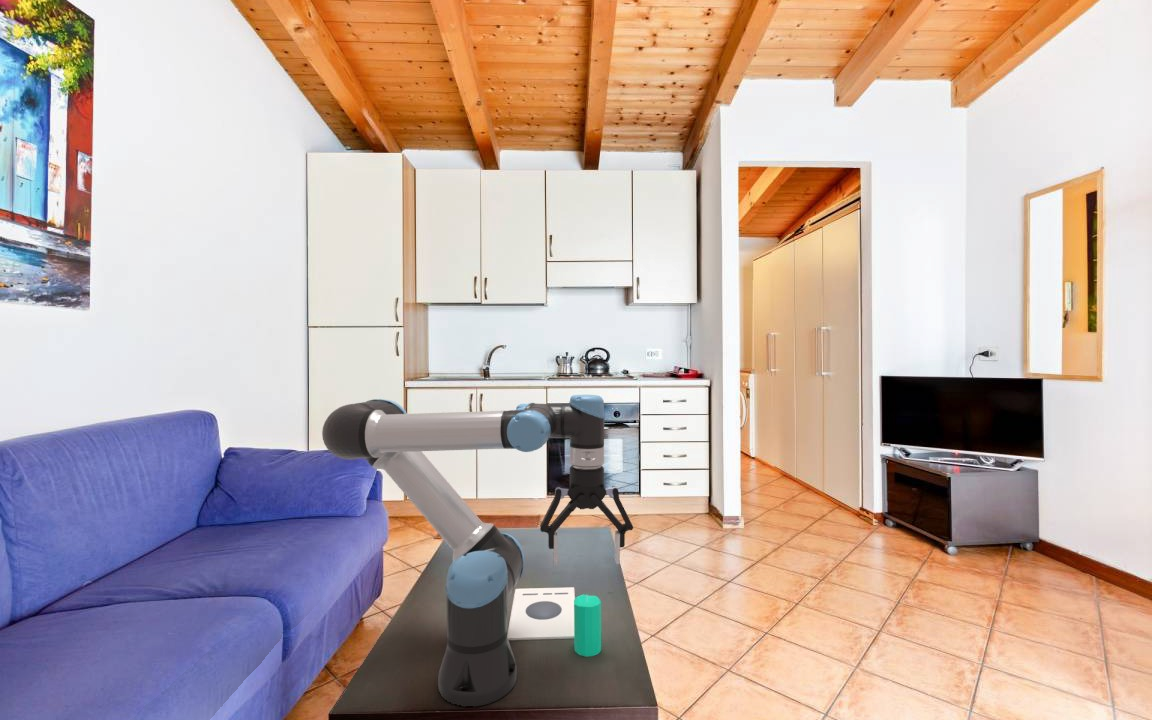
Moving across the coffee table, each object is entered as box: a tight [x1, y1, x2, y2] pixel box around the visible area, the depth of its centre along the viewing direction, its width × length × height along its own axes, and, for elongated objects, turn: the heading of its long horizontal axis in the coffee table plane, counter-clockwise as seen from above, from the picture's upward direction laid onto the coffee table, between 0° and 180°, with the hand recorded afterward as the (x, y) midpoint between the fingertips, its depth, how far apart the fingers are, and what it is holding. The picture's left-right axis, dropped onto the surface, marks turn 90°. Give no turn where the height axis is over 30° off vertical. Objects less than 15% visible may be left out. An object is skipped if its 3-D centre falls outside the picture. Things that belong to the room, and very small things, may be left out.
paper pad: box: [507, 586, 576, 641], centre depth 125 cm, size 24×16×1 cm, turn 2°
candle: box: [573, 593, 602, 657], centre depth 109 cm, size 6×6×12 cm
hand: (586, 562), depth 109 cm, fingers open, 13 cm apart
